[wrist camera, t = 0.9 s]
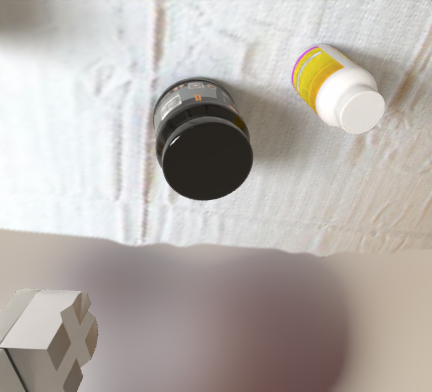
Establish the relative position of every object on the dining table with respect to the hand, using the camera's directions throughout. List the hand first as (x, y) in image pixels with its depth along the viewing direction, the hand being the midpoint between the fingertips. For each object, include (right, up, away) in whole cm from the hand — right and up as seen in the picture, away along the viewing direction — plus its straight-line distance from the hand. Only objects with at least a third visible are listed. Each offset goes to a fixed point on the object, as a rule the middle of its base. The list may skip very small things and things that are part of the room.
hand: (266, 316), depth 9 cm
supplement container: (-4, +13, +41) cm, 43 cm away
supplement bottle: (+11, +19, +40) cm, 45 cm away
